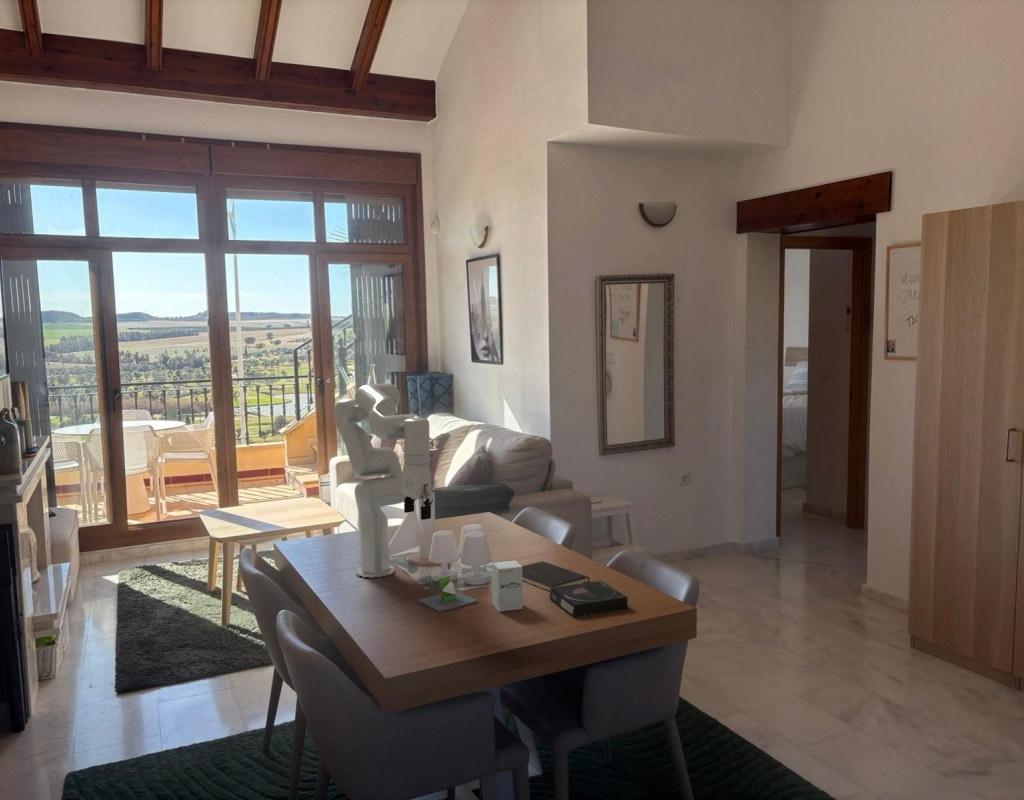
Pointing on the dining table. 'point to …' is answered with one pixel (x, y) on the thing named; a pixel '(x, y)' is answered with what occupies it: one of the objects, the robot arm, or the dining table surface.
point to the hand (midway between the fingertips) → (417, 515)
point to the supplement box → (507, 585)
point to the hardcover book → (550, 575)
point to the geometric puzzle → (446, 589)
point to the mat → (447, 602)
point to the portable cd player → (588, 598)
